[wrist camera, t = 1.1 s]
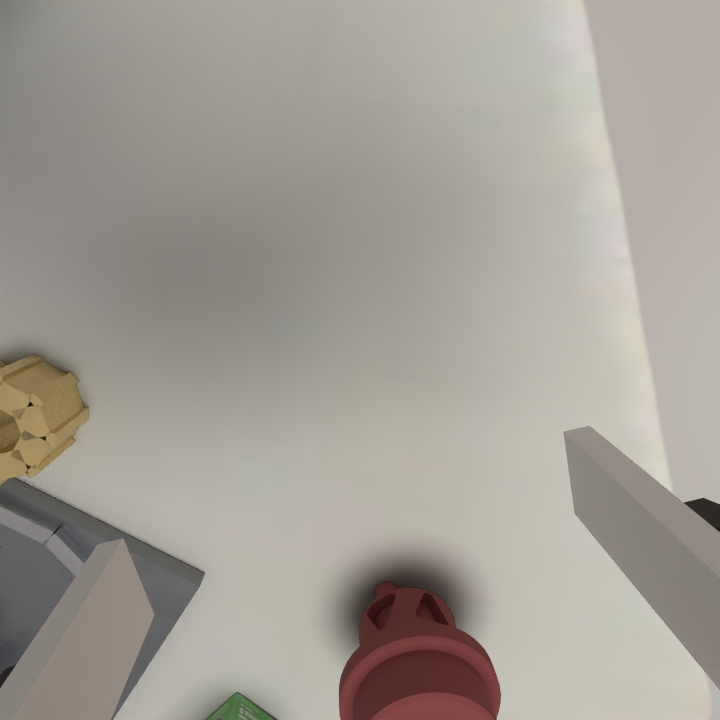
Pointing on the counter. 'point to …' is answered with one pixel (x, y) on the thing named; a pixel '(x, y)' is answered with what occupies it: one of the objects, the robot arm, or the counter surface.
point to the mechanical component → (416, 664)
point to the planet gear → (36, 415)
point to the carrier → (73, 572)
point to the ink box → (239, 710)
